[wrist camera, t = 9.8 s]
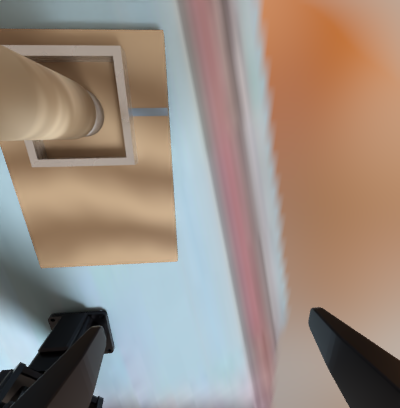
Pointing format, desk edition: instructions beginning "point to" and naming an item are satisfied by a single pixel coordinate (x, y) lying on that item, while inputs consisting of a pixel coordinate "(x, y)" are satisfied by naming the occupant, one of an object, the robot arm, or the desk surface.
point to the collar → (120, 64)
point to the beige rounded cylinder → (43, 102)
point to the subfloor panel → (102, 175)
